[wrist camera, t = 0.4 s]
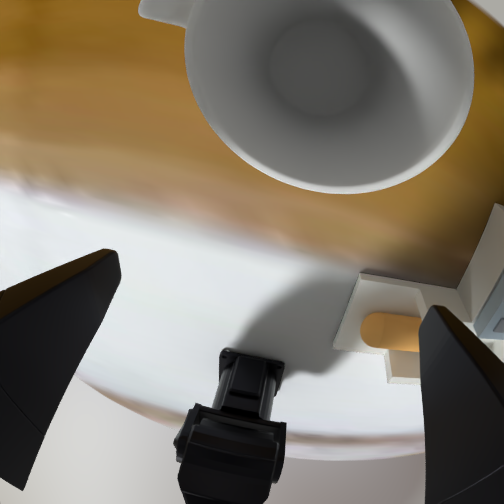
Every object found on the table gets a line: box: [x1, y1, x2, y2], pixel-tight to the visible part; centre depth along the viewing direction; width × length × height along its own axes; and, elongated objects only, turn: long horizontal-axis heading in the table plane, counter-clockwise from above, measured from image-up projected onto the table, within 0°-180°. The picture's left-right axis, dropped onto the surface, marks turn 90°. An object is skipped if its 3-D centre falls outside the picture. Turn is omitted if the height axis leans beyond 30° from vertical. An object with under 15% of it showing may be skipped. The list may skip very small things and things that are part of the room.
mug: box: [138, 0, 474, 194], centre depth 10 cm, size 10×7×12 cm, turn 68°
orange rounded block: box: [360, 312, 422, 352], centre depth 22 cm, size 3×9×3 cm, turn 85°
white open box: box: [333, 203, 504, 385], centre depth 20 cm, size 16×18×4 cm
